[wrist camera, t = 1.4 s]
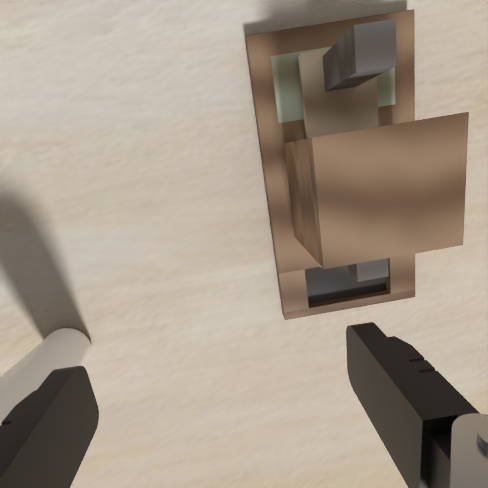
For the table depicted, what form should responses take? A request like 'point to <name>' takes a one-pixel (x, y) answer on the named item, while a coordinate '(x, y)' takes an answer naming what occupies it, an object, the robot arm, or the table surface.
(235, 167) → the table surface
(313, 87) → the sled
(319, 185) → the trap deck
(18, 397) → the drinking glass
